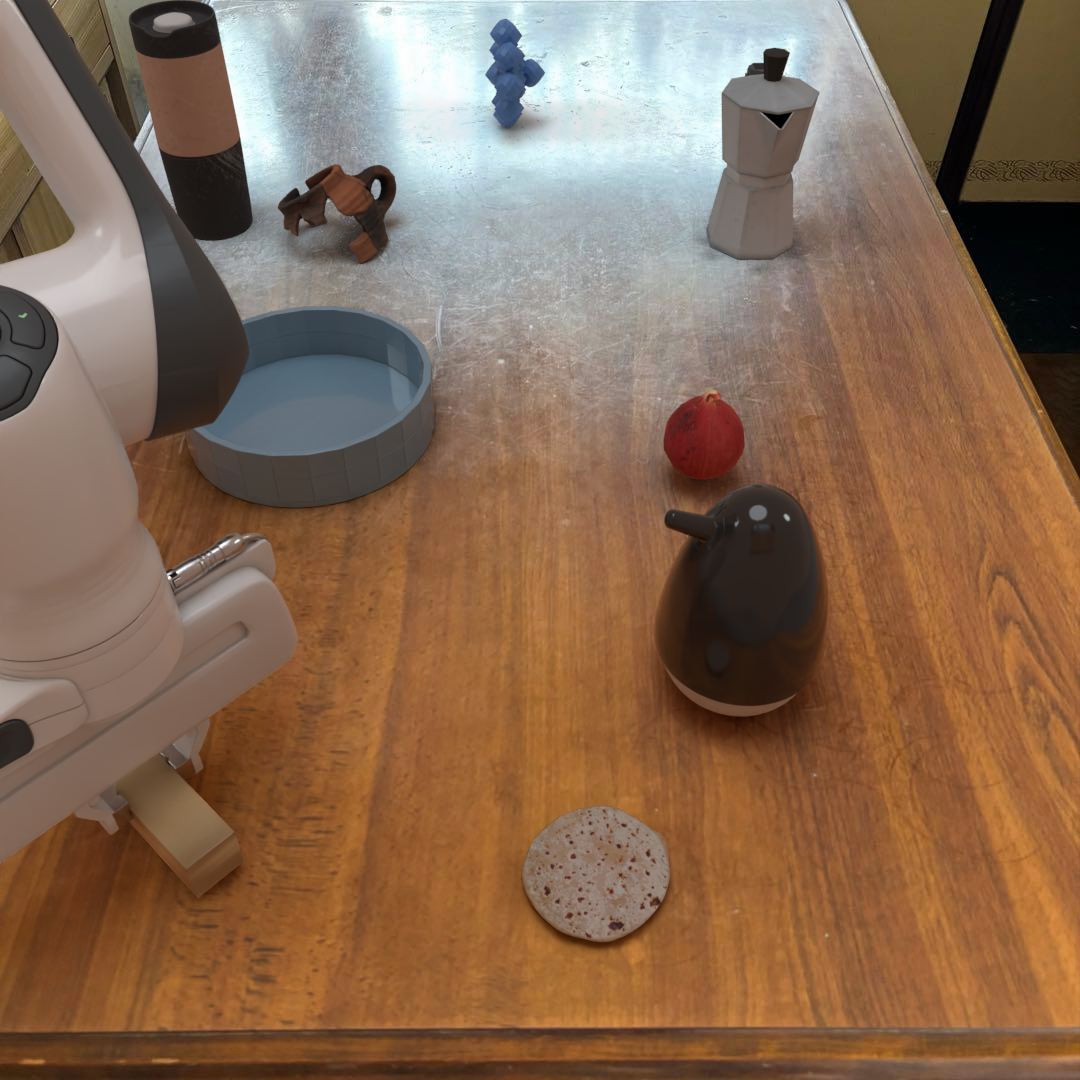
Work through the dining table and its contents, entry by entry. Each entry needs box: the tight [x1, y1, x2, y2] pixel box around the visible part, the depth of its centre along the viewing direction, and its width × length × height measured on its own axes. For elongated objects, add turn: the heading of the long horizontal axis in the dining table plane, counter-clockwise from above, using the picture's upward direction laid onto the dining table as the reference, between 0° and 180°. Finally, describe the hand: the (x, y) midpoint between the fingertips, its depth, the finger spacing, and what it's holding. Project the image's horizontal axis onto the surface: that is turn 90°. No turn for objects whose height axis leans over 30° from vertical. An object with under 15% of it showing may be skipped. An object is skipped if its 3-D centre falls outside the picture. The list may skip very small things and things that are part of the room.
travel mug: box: [128, 0, 254, 241], centre depth 104 cm, size 8×8×20 cm
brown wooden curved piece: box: [277, 163, 397, 264], centre depth 107 cm, size 12×10×8 cm
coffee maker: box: [705, 47, 820, 260], centre depth 103 cm, size 15×9×18 cm, turn 0°
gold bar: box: [112, 753, 245, 899], centre depth 60 cm, size 12×3×3 cm, turn 47°
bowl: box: [183, 305, 436, 509], centre depth 86 cm, size 19×19×5 cm
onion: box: [662, 388, 746, 481], centre depth 80 cm, size 6×6×8 cm
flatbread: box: [521, 805, 671, 943], centre depth 59 cm, size 8×8×1 cm
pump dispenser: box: [653, 483, 830, 717], centre depth 64 cm, size 10×10×15 cm
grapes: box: [484, 18, 546, 128], centre depth 123 cm, size 12×7×12 cm, turn 5°
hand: (150, 794), depth 60 cm, fingers closed on gold bar, 3 cm apart
